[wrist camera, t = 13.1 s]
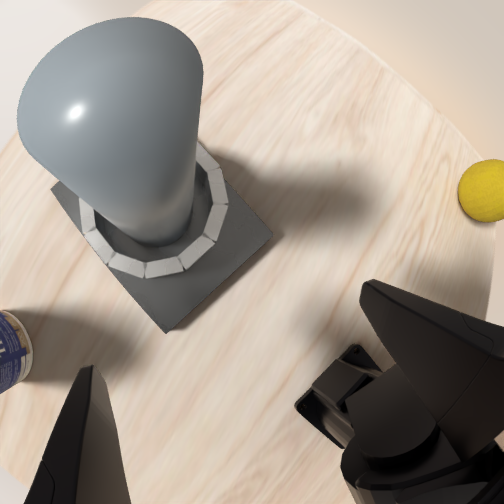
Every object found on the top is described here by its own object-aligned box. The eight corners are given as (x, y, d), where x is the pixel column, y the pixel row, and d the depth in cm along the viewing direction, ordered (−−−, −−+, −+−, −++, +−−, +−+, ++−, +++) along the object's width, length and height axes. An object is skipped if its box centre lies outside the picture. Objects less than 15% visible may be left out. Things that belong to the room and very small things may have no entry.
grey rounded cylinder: (207, 213, 19) (245, 87, 6) (151, 262, 18) (71, 221, 5) (162, 161, 19) (137, -3, 6) (106, 207, 18) (-4, 93, 5)
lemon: (463, 168, 26) (520, 145, 18) (480, 218, 26) (539, 204, 18) (434, 179, 25) (498, 153, 17) (454, 235, 25) (521, 222, 17)
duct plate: (269, 237, 21) (286, 228, 17) (167, 330, 19) (163, 342, 15) (155, 112, 20) (152, 83, 16) (56, 193, 18) (35, 177, 14)
